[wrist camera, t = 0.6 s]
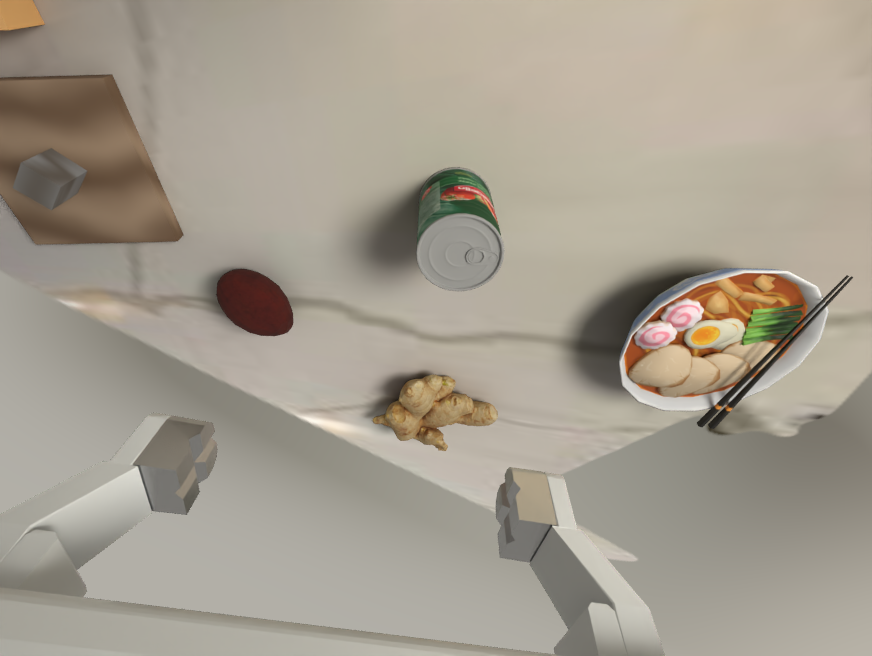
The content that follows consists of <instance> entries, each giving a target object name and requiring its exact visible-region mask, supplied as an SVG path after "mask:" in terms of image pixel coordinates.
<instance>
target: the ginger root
mask: <svg viewBox="0 0 872 656" xmlns="http://www.w3.org/2000/svg"><path fill="white" fill-rule="evenodd" d="M455 383H456V382H455V380H453V379H452V378H450V377H449V376H438V375H429V376H426V377H424V378H423V379H413V380H410V381H408V382H406V383H405V385H404V386H403V388H402V390H401V392H400V396H399V400H398V401H395V402H393V403H391V404H390V405H389V407H388V409H387V411H386V414H384V415H380V416H376V417H374V418H373V422H374V423H375V424H383V425H386V426H389V427H391V428H392V429H393V430H394V432H395V434H396V436H397V438H398V439H399V440H400V441H406V440H410V439H412V438H413V439H417V440H418V441H420V442H422V443H423V444H425V445H434V446H435V447H436V448H438V450H442V451H446V450H447V447H448V446H447V445H446V443H445V442H444V441H443V434H442V433H441V432H440V431H439V430H438V429H437V427H443V426H446V425H452V424H454V423H459V424H465V425H468V426H469V425H473V426H486V425H490V424H492V423H493V422H495V421H496V420H497V417H498V413H497V410H496V409H495V407H494V406H493V405H491V404H489V403H486V402H479V401H473V400H472V399H471V398H470V397H468V396H467V395H466V394H457V393H453V392H452V391H453V389H454V387H455Z"/></svg>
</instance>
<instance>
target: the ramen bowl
mask: <svg viewBox="0 0 872 656" xmlns="http://www.w3.org/2000/svg"><path fill="white" fill-rule="evenodd" d="M848 277H849V276H848V275H847V276H846V277H845V278H844V279H843V280H842V281H841V282H840V283H839V284H838V285H837V286H836V287H835V288H834V289H833V290H832V291H831V292H830V293H829V294H828V295H827V296H826V297H825V298H823V297H822V295H821V293H820V290H819V288H818V286H816V285H814V284H812V283H810V282H808V281H806V280H804V279H802V278H800V277H798V276H796V275H794V274H792V273H791V272H788V271H782V270H776V269H740V268H725V269H721V270H716V271H713V272H709V273H705V274H702V275H698V276H694V277H691V278H687V279H685V280H683V281H681V282H680V283H678V284H676V285H675V286H673V287H671V288H670V289H668V290H666V291H664V292H663V293H661V294H659V295H658V296H657V297H656V298H655V299H654V300H653V301H652V302H651V303H650V304H649V305H648V306H647V307H646V308H645V309H644V310H643V311H642V312H641V313H640V314H639V315H638V316H637V318H636V319H635V320H634V322H633V324H632V327H631V329H630V331H629V334H628V336H627V339H626V341H625V343H624V346H623V348H622V351H621V354H620V359H619V368H620V375H621V383H622V386H623V387H624V388H625V389H626V390H627V391H628V392H629V393H630V394H631V395H632V396H633V397H634V398H635V399H636V400H637V401H638V402H640V403H643V404H645V405H648V406H651V407H654V408H657V409H660V410H663V411H700V410H705V409H710V408H711V409H710V410H709V411H708V412H707V413H706V414H705V415H704V416H703V417H702V418H701V419H700V420H699V421H698V422H697V424H698V426H700V427H703V426H704V425H705V424H706V423H707V422H708V421H709V420H710V419H711V418H712V417H713V416H714V415H715V414H716V413H717V412H718V411H719V410H720V408H721V407H723V406H724V405H727V406H726V407H725V408H724V409H723V410H722V411H721V412H720V413H719V414H718V415H717V416H716V417H715V418H714V419H713V420H712V421H711V422H710V423H709V424H708V426H709V427H710V428H712V429H714V428H715V427H716V426H717V425H718V424H719V423H720V422H721V421H722V420H723V419H724V417H725V416H726V415H727V414H728V413H729V412H730V411H731V409H733V408H734V407H735V406H736V404H737V403H738V402H739V401H740V400H742V399H744V398H746V397H749V396H751V395H753V394H756V393H758V392H760V391H762V390H765V389H767V388H769V387H770V386H771V385H773V384H774V383H776V382H777V381H779V380H780V379H781V378H783V377H784V376H786V375H787V374H789V373H790V372H791V371H793V370H794V369H796V368H797V367H798V366H800V364H801V363H802V362H803V361H804V359H805V358H806V357H807V356H808V354H809V353H810V352H811V351H812V349H813V348H814V347H815V346H816V344H817V343H818V342H819V341H820V339H821V337H822V333H823V330H824V326H825V322H826V319H827V315H828V312H829V310H828V308H827V305H828V304H829V303H830V302H831V301H832V300H833V299H834V298H835V297H836V296H837V295H838V293H839V292H840V291H841V290H842V289H843V288H844V287H845V286H846V285H847V284H848V283H849V282H850V280H851V279H852V278H853V277H850V278H849V279H848V280H847V282H846V283H845V284H844V285H843V286H842V287H841V288H840V289H839V290H838V291H837V292H836V293H835V294H834V295H833V296H832V297H831V298H830V299H829V300H828V301H827V302H826V303H825V300H826V299H827V298H828V297H829V296H830V295H831V294H832V293H833V292H834V291H835V290H836V289H837V288H838V287H839V286H840V285H841V284H842V283H843V282H844V281H845V280H846V279H847V278H848Z"/></svg>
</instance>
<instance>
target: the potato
mask: <svg viewBox="0 0 872 656" xmlns="http://www.w3.org/2000/svg"><path fill="white" fill-rule="evenodd" d="M216 295H217V299H218V302H219V304H220V306H221V308H222V310H223V311H224V313H225V314H226V316H227V317H228V318H229V319H230V320H231V321H232V322H233V323H234V324H235V325H237V326H239V327H241V328H242V329H244V330H246V331H248V332H250V333H253V334H257V335H261V336H277V335H282V334H285V333H287V332H288V331H289V330H290V329H291V328H292V325H293V312H292V309H291V306H290V304H289V301H288V299H287V297H286V295H285V294H284V293H283V291H282V290H281V289H280V287H279V286H278V285H277V284H276V283H274V282H273V281H272V280H270V279H269V278H268V277H266V276H264V275H262V274H260V273H258V272H255V271H252V270H247V269H236V270H232V271H229V272H227V273H226V274H224V275H223V276H222V277H221V278H220V280H219V281H218V284H217V294H216Z"/></svg>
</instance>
